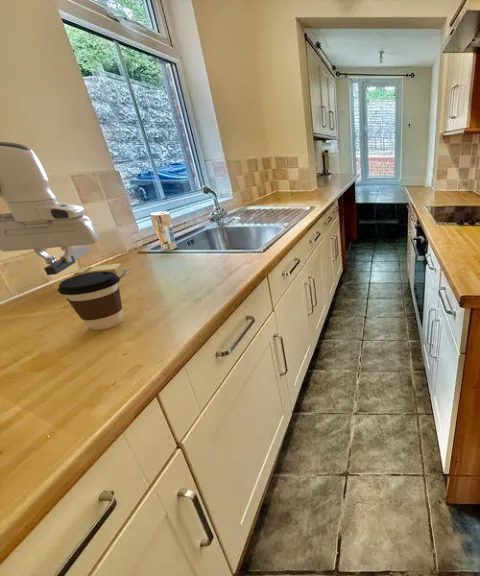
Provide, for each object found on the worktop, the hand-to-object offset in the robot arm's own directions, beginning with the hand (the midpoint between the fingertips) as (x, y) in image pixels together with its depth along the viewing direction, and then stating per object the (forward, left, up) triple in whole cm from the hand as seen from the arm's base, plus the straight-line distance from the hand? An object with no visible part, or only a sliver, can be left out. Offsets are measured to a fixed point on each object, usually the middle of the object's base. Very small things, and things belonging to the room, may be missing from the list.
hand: (60, 262), depth 86 cm
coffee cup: (+14, -20, -11) cm, 27 cm away
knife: (0, +6, -2) cm, 6 cm away
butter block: (+4, +12, -10) cm, 16 cm away
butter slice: (-2, +12, -10) cm, 16 cm away
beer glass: (+13, +48, -11) cm, 51 cm away
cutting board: (+1, +12, -11) cm, 16 cm away
